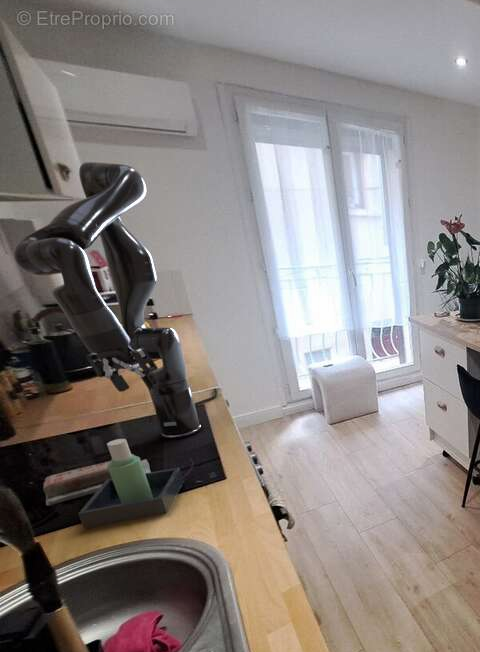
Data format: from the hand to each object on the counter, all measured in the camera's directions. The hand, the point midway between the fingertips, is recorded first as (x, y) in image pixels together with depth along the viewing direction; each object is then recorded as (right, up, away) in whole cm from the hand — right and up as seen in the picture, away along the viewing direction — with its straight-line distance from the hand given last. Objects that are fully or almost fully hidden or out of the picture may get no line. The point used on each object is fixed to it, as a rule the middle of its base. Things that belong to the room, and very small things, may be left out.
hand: (139, 389), depth 102 cm
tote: (+7, -27, -8) cm, 29 cm away
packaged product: (-9, -24, -1) cm, 25 cm away
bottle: (+7, -26, -8) cm, 29 cm away
